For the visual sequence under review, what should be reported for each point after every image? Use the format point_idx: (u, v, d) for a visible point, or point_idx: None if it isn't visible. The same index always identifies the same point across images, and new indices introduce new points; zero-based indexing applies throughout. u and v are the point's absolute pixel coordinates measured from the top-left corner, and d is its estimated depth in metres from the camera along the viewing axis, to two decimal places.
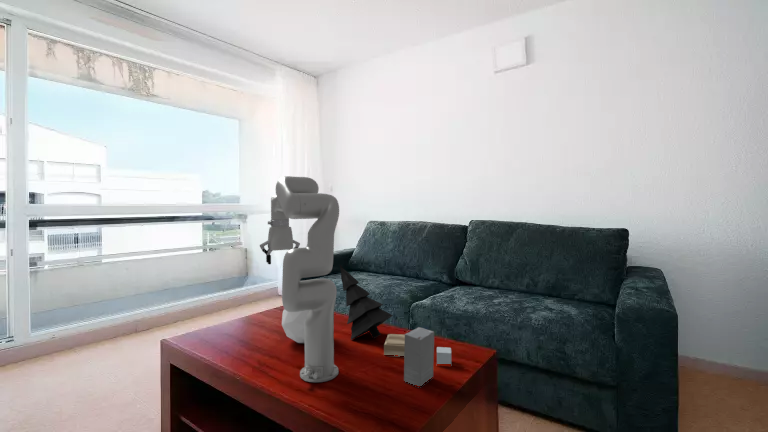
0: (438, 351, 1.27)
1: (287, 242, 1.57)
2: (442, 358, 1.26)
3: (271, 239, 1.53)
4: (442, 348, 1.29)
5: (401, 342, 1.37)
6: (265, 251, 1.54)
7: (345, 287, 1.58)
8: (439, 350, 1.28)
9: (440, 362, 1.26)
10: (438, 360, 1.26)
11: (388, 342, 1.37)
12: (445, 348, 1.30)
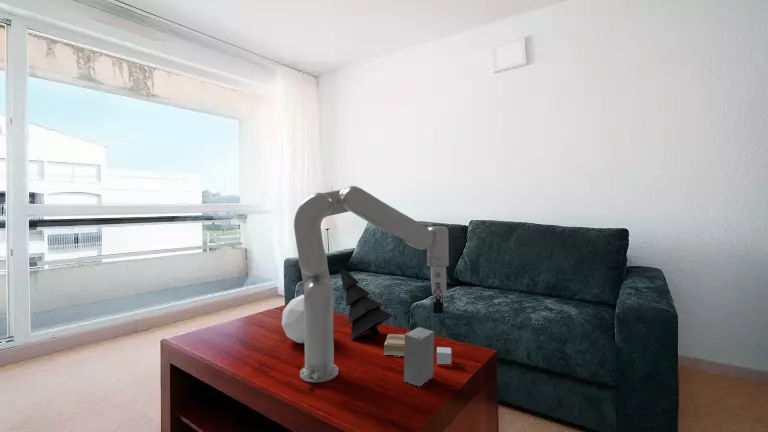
0: (438, 351, 1.27)
1: None
2: (442, 358, 1.26)
3: (445, 281, 1.24)
4: (442, 348, 1.29)
5: (401, 342, 1.37)
6: (440, 298, 1.22)
7: (345, 287, 1.58)
8: (439, 350, 1.28)
9: (440, 362, 1.26)
10: (438, 360, 1.26)
11: (388, 342, 1.37)
12: (445, 348, 1.30)
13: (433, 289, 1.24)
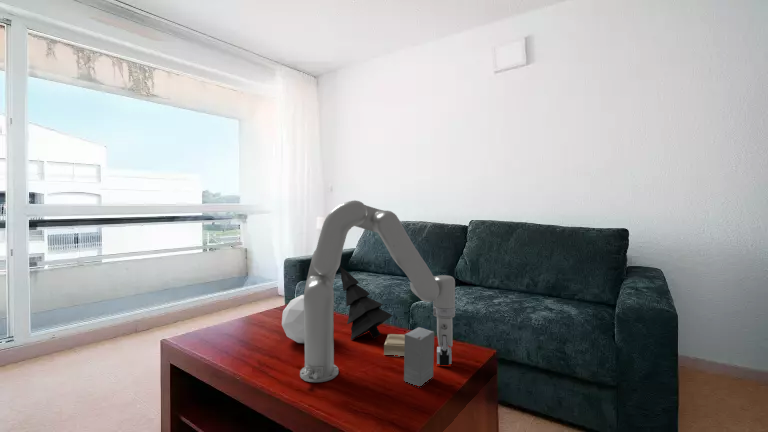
0: (438, 351, 1.27)
1: None
2: None
3: (451, 333, 1.23)
4: (442, 348, 1.29)
5: (401, 342, 1.37)
6: (446, 351, 1.24)
7: (345, 287, 1.58)
8: None
9: None
10: (438, 360, 1.26)
11: (388, 342, 1.37)
12: None
13: (439, 341, 1.23)
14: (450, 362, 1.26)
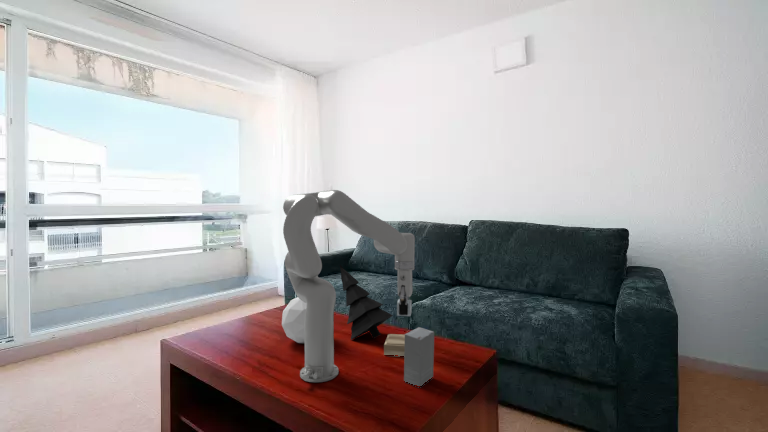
0: (399, 301, 1.38)
1: None
2: None
3: (409, 284, 1.34)
4: None
5: (401, 342, 1.37)
6: (405, 301, 1.34)
7: (345, 287, 1.58)
8: None
9: None
10: (398, 309, 1.37)
11: (388, 342, 1.37)
12: None
13: (398, 291, 1.34)
14: (409, 311, 1.36)
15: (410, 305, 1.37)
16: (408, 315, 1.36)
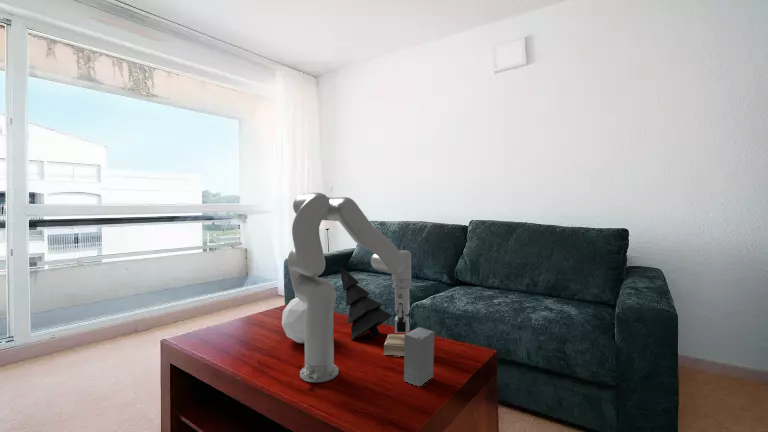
0: (396, 318, 1.39)
1: (409, 301, 1.42)
2: None
3: (407, 302, 1.35)
4: None
5: (401, 342, 1.37)
6: (403, 318, 1.36)
7: (345, 287, 1.58)
8: None
9: None
10: (396, 326, 1.38)
11: (388, 342, 1.37)
12: None
13: (396, 309, 1.36)
14: (407, 328, 1.38)
15: (408, 322, 1.38)
16: (406, 332, 1.38)
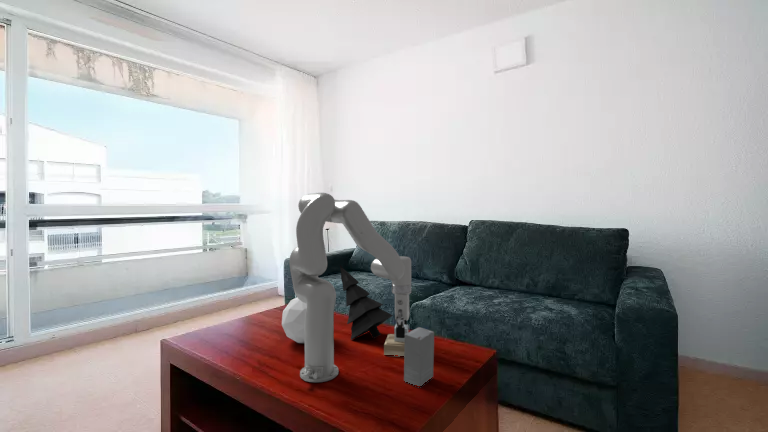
0: None
1: None
2: None
3: (407, 308, 1.35)
4: None
5: (401, 342, 1.37)
6: (402, 324, 1.34)
7: (345, 287, 1.58)
8: None
9: None
10: (395, 335, 1.38)
11: (388, 342, 1.37)
12: None
13: (396, 315, 1.36)
14: None
15: (407, 331, 1.38)
16: None
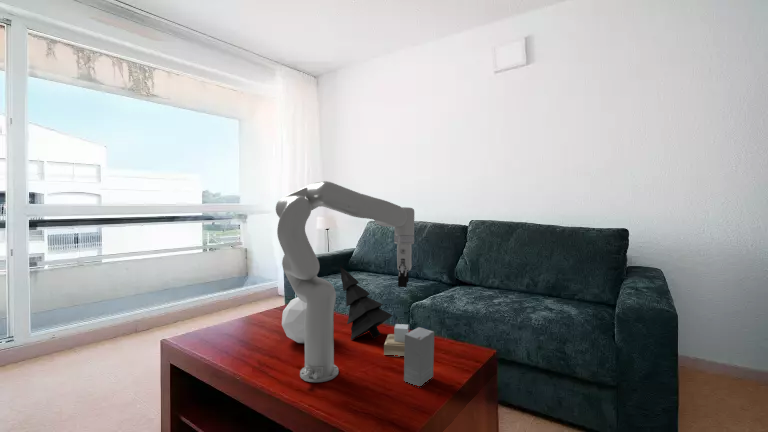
0: (396, 327, 1.39)
1: (411, 260, 1.41)
2: (399, 334, 1.38)
3: (409, 258, 1.34)
4: (400, 325, 1.41)
5: (401, 342, 1.37)
6: (404, 272, 1.32)
7: (345, 287, 1.58)
8: (397, 326, 1.40)
9: (397, 337, 1.38)
10: (395, 335, 1.38)
11: (388, 342, 1.37)
12: (403, 325, 1.42)
13: (398, 264, 1.34)
14: None
15: (407, 331, 1.38)
16: None
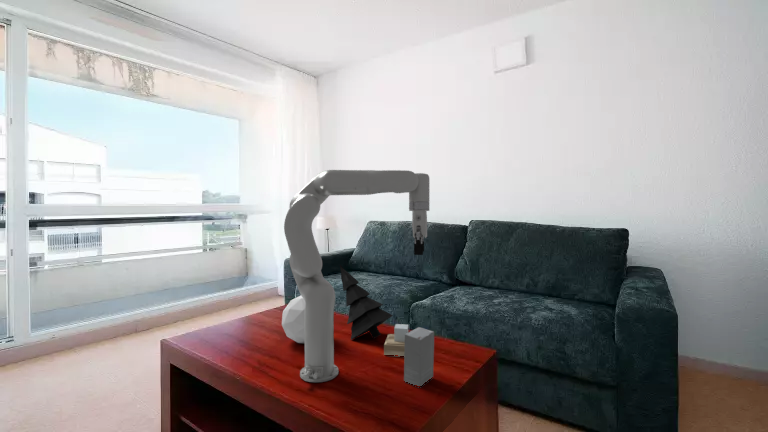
0: (396, 327, 1.39)
1: None
2: (399, 334, 1.38)
3: (425, 225, 1.30)
4: (400, 325, 1.41)
5: (401, 342, 1.37)
6: (420, 239, 1.28)
7: (345, 287, 1.58)
8: (397, 326, 1.40)
9: (397, 337, 1.38)
10: (395, 335, 1.38)
11: (388, 342, 1.37)
12: (403, 325, 1.42)
13: (414, 232, 1.30)
14: None
15: (407, 331, 1.38)
16: None
